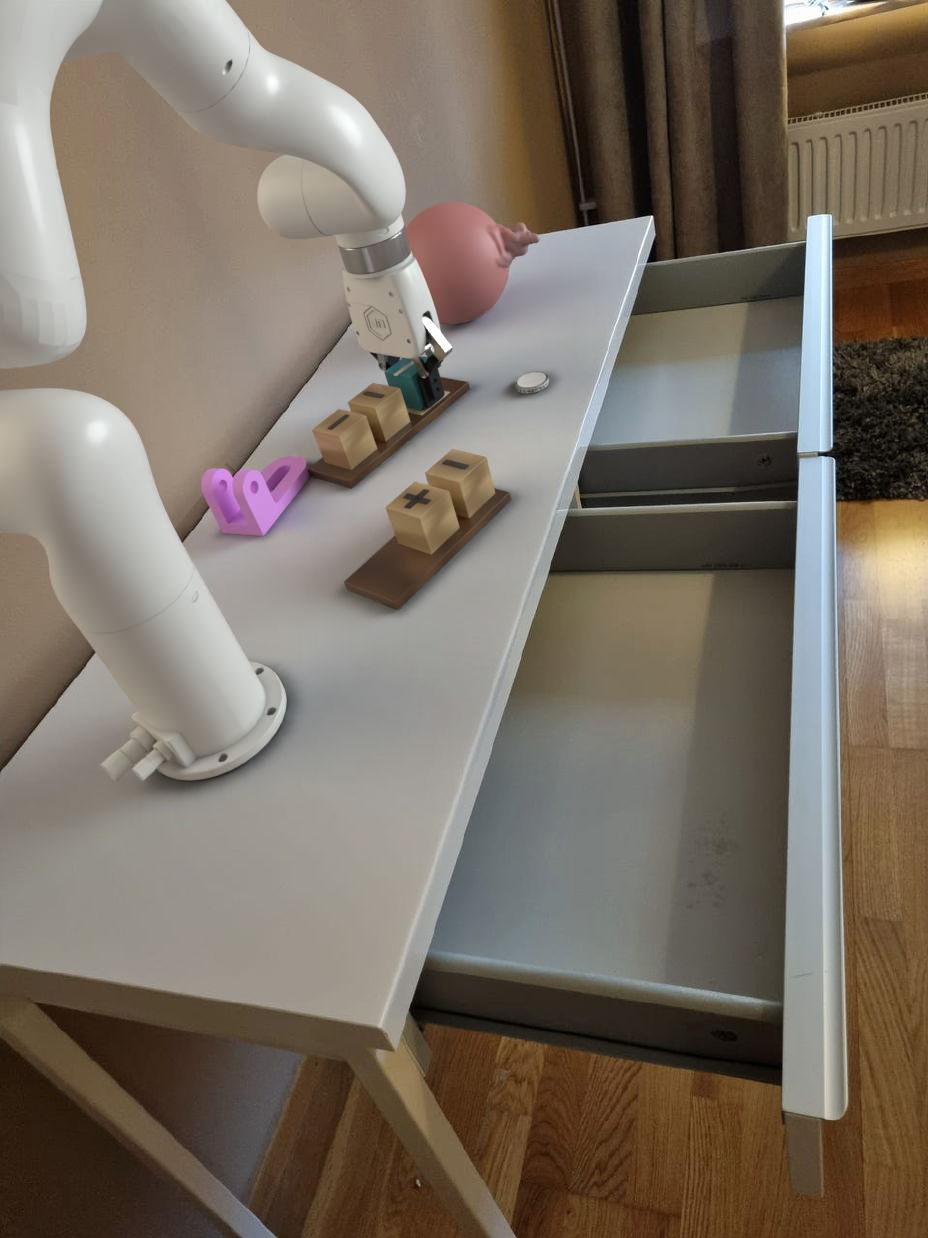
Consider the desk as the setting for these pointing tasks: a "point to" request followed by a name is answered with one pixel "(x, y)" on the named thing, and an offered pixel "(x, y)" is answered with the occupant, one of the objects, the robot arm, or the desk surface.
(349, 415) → the far word
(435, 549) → the wooden board with cubes
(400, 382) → the striped teal cube
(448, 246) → the balloon
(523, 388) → the white flat disc
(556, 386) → the desk surface
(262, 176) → the robot arm
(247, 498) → the bracket
